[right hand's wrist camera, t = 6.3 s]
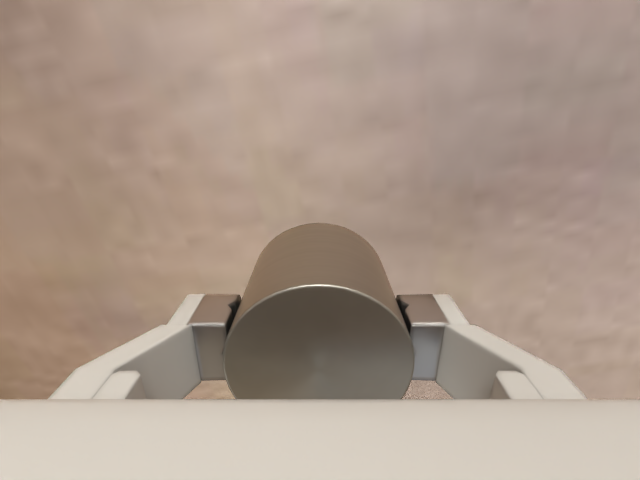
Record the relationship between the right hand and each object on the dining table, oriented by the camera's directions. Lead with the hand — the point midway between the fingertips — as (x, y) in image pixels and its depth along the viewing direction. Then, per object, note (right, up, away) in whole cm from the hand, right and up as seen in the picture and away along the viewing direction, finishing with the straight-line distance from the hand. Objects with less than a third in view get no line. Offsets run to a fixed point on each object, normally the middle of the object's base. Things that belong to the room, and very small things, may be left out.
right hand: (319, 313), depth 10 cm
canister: (0, +1, +2) cm, 2 cm away
